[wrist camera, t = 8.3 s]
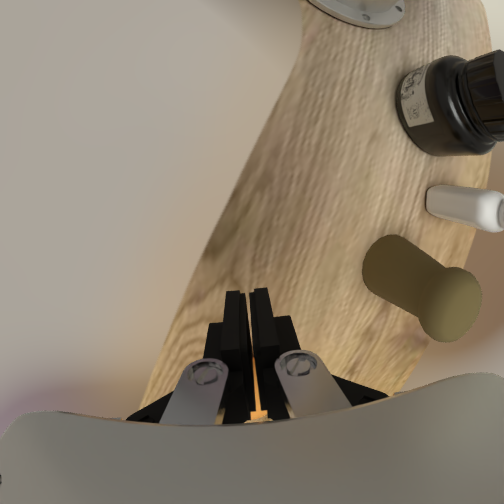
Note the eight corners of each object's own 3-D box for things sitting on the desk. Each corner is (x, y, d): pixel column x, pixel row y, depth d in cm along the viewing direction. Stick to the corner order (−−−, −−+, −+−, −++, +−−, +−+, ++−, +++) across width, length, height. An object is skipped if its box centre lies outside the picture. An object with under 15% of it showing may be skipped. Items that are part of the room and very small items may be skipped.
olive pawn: (372, 306, 24) (436, 371, 14) (353, 254, 23) (427, 306, 12) (419, 275, 24) (492, 322, 13) (404, 223, 23) (490, 252, 12)
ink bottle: (416, 56, 18) (492, 18, 7) (466, 117, 20) (547, 107, 8) (377, 112, 20) (471, 77, 8) (436, 177, 22) (531, 187, 10)
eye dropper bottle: (449, 233, 23) (535, 265, 12) (418, 204, 22) (516, 227, 11) (463, 198, 22) (549, 217, 11) (434, 167, 21) (530, 173, 10)
